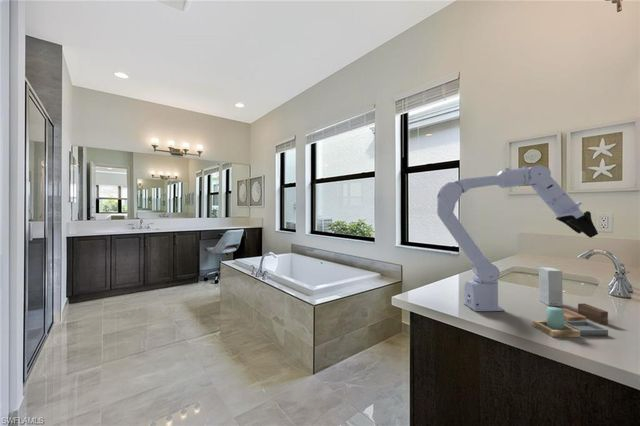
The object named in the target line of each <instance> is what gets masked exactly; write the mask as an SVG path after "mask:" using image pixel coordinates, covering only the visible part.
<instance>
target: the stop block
mask: <svg viewBox="0 0 640 426" xmlns="http://www.w3.org/2000/svg"><path fill="white" fill-rule="evenodd" d="M577 313H578V314H580V315H582V316H585V317H586V320H588V321H592V322H594V323H595V324H596V323H597V324H598V325H608V324H609V311H606V310H604V309H602V308H598V307H595V306H592V305H589V304H587V303H578V304H577Z"/></svg>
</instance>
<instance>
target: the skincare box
mask: <svg viewBox="0 0 640 426" xmlns="http://www.w3.org/2000/svg"><path fill="white" fill-rule="evenodd" d="M563 299H564V298H563V270H560V269H557V268H554V267H548V266H547V267H546V266H545V267H544V266H543V267H542V266H540V267H538V301H539V302H542V303H543V304H545V305H547V306H548V307H563V304H564V303H563V302H564V301H563Z"/></svg>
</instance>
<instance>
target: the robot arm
mask: <svg viewBox="0 0 640 426" xmlns="http://www.w3.org/2000/svg"><path fill="white" fill-rule="evenodd" d="M526 185H527V186H530V187H531V188H532V189H533V190H534V191H535V193H536V194H537V195H538V196H539V197H540V198H541V199H542V201H543V202H544V203H545V204H546V205H547V206H548V207H549V209H551V211H552V212H553V213H554V214H555V216H556V217H555V220H556V221H559V222H561V223H563V224H565V225H567V227H569V228H570V229H571V230H573V231H574V232H575V233H577V234H581V233H583V234H584V235H586V236H587V237H588V238H590V239H591V238H593V237H595V236H597V235H599V232H598V230H597V228H596V227H595V225H594V223H593V221H592V214H591V212H590V211H588V210H587V211H585V212H583V211H582V210H581V209H580V206H581V205H582V204H583V203H582V202H581V201H577V202H575V201H574V199H573V198H571V196H570V195H569V194H568V193H567V192H566V191H565V190H564V189H563V187H561V186H560V184H559V183H558V182H557V181H556V180H555V179H554V178H553V177H552V172H551V169H550V168H549V167H546V166H544V165H542V164H536V165H534V166H529V167H528V165H522V166H521V167H519V168H511V169H510V167H505V168H503V169H502V170H500V171H499V172H498V173H497V174H496V175H488V176H478V177H477V176H476V177H469V178H468V177H467V178H463V179H459V180H455V181H452V182H451V181H449V182H447V183H445V184H444V185H442V186H441V187H440V189H439V191H438V193H437V197H436V200H437V202H436V203H437V205H436V206H437V209H436V213H437V215H438V216H437V217H439V219H440V221H441V222H442V223H443V225H444V226H445V227H446V229H447V230H448V232H449V233H450V235H451V236H452V237H453V238H454V241H455V242H456V243H457V244H458V246H459V248H460V249H461V250H462V252H463V253H464V255H465V256H466V257H467V260H468V261H469V262H470V264H471V268H472V272H473V273H474V274H475V275H474V276H473V277H472V280H468V281H466V282H465V283H464V301H463V304H464V305H466V306H467V307H469V308H470V309H472V311H474V312H505V308H503V307H501V306H499V281H498V280H499V278H500V274H501V273H500V270H499V267H497V265H495V264H493V263H491V261H489V259H488V257H486V255H484V253H483V252H482V251H481V249H480V248H479V247H478V245H477V243H475V241H474V240H473V238H472V237H471V236H470V234H469V233H468V231H467V230H466V229H465V227H464V226H463V224H462V223H461V222H460V220H459V218H458V217H457V216H456V215H455V213H454V211H455V207H456V204H457V202H458V201H459V200H460V199H461V196H462V194H464V193H467V192H468V191H469V190H471V189H475V188H484V187H490V186H498V187H500V188H501V189H504V188H505V189H506V188H514V187H515V188H516V187H521V186H522V187H523V186H526Z"/></svg>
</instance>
